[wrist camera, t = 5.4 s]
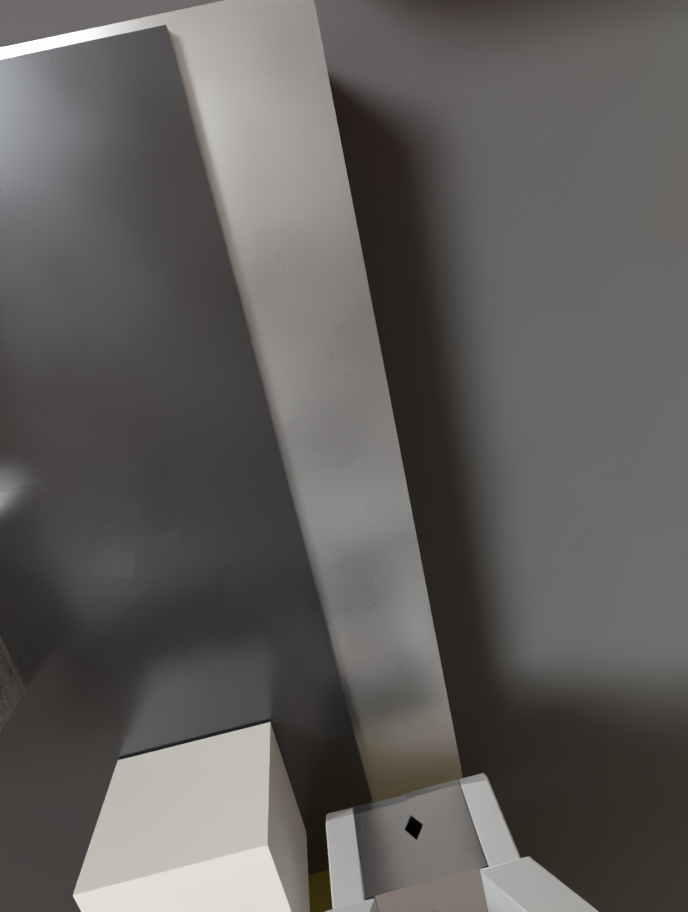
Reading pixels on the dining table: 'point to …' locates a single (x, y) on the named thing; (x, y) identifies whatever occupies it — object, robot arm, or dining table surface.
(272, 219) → the breaker panel
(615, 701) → the dining table surface
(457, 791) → the robot arm
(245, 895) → the breaker toggle
